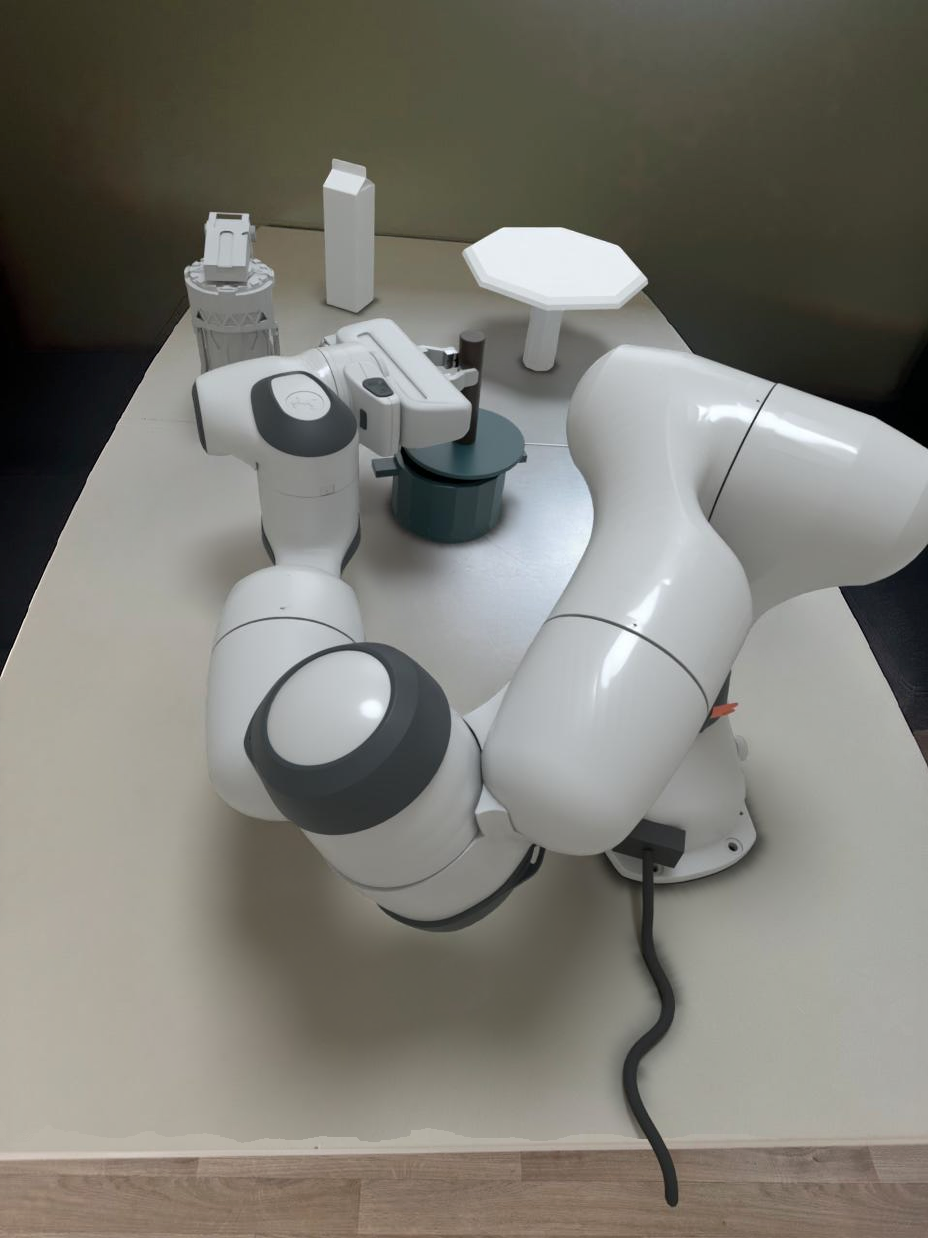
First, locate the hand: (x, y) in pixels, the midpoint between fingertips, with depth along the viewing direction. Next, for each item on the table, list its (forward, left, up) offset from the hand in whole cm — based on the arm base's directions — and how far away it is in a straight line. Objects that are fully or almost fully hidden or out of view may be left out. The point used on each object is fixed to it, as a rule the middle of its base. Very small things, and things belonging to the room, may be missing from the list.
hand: (466, 365), depth 88 cm
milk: (+57, +2, -20) cm, 60 cm away
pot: (0, +1, -20) cm, 20 cm away
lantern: (+24, +23, -20) cm, 39 cm away
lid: (0, -1, -10) cm, 10 cm away
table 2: (+33, -24, -20) cm, 45 cm away
